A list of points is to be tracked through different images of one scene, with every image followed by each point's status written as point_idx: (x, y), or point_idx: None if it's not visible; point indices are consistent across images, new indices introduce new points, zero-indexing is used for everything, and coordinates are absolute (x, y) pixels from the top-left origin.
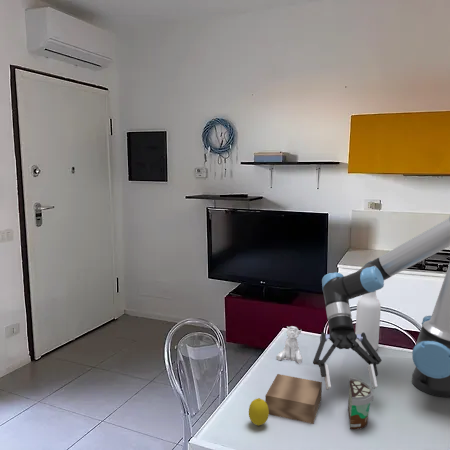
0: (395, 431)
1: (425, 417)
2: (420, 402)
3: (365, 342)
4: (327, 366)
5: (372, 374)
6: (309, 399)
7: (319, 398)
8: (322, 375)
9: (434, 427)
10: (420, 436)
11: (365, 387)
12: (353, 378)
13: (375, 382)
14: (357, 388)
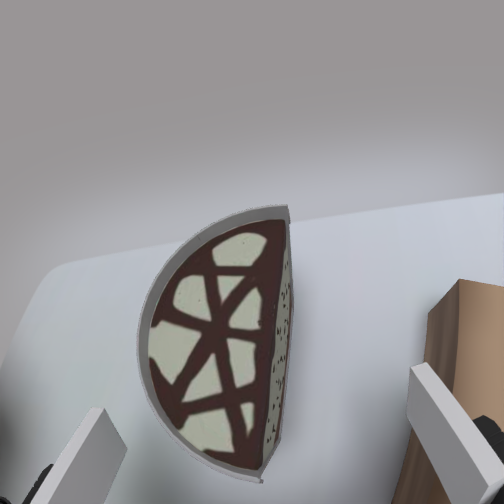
0: (133, 314)
1: (27, 392)
2: (15, 471)
3: None
4: (483, 467)
5: (73, 461)
6: (484, 323)
7: (417, 456)
8: (483, 423)
9: (30, 341)
10: (79, 296)
11: (165, 376)
12: (226, 468)
13: (88, 422)
14: (225, 353)
